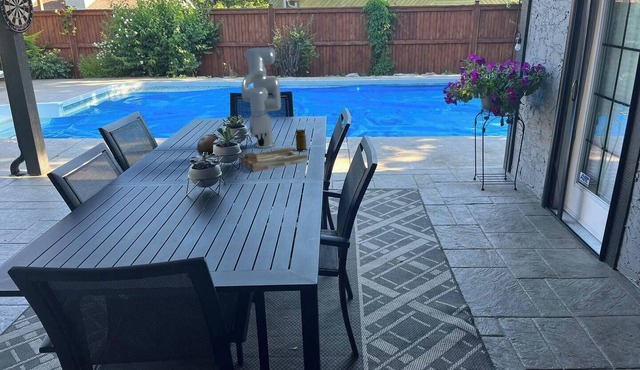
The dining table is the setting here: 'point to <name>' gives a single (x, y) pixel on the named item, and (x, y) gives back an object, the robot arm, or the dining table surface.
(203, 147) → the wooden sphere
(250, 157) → the walnut block
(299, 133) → the condiment
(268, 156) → the trap track
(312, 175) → the dining table surface
